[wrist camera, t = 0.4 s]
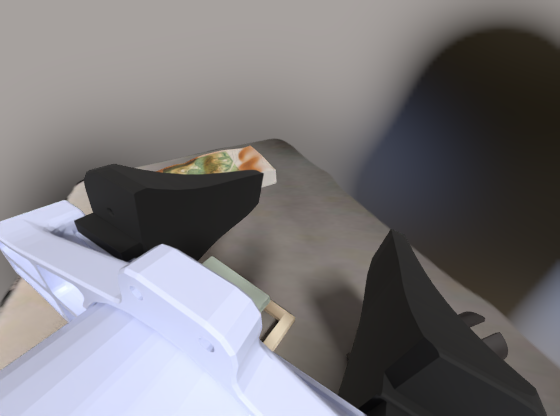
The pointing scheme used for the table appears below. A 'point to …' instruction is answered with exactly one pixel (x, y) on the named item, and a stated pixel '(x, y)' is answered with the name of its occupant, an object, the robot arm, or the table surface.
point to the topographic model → (227, 164)
